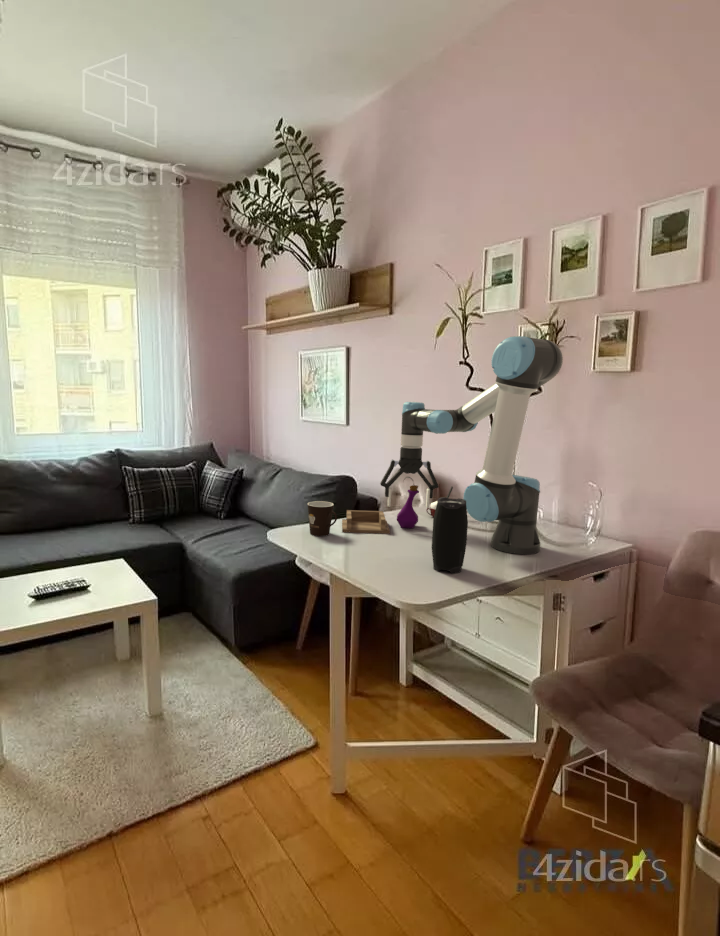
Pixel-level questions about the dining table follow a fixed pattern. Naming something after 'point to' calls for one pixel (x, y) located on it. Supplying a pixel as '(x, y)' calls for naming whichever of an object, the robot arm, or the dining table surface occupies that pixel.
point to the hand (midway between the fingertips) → (408, 506)
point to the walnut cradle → (365, 522)
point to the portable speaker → (449, 534)
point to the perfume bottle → (408, 509)
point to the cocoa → (434, 504)
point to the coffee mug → (320, 517)
